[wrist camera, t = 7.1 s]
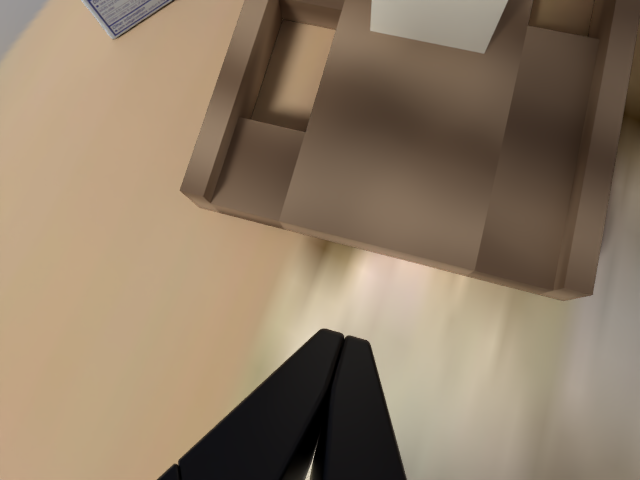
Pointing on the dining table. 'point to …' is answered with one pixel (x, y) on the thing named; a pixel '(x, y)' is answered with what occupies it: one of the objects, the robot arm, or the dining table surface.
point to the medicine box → (122, 13)
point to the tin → (439, 21)
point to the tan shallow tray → (431, 143)
